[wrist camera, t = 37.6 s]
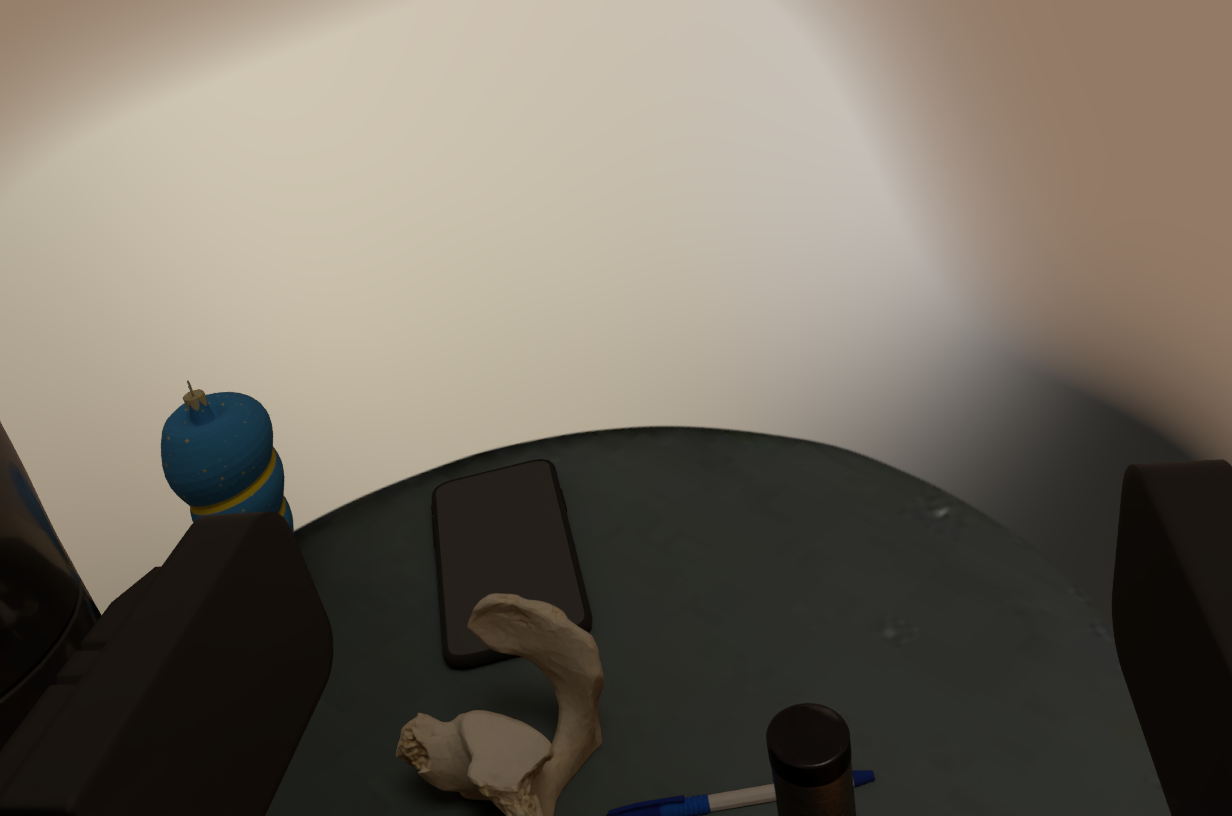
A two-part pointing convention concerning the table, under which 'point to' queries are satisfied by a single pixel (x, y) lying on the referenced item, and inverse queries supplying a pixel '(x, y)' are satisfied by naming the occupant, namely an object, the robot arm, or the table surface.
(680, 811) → the ballpoint pen
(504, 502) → the smartphone
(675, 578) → the table surface
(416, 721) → the bone
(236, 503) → the ornament
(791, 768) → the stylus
